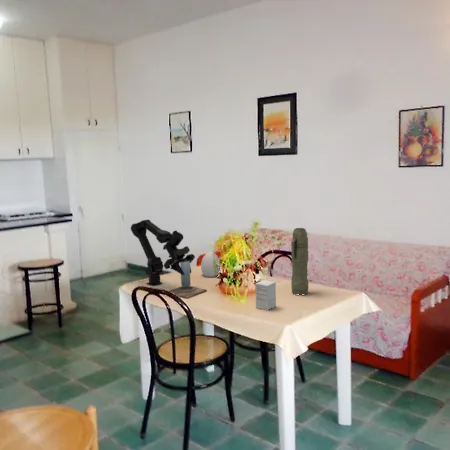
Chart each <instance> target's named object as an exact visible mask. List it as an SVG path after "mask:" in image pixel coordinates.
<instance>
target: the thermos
mask: <svg viewBox="0 0 450 450" xmlns="http://www.w3.org/2000/svg"><path fill="white" fill-rule="evenodd" d="M290 243H291V244H290V245H291V246H290V247H291V252H290V253H291V254H290V255H291V263H292V268H291V269H292V279H291V294H292V293H293V294H292V295H294V294H299V295H302V294H307V293H308V294H309V280H308V262H309V245H308V244H309V239H308V233H307V229H306V228H303V227H297V228H296V227H295V228H294V229H293V232H292V239H291V242H290ZM308 294H307V295H308ZM299 295H298V296H299ZM302 296H303V295H302Z"/></svg>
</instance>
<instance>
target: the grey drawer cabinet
mask: <svg viewBox="0 0 450 450" xmlns="http://www.w3.org/2000/svg"><path fill="white" fill-rule="evenodd" d="M276 287H277V284H276V282H275V281H271V280H265V279H262V280H260V281H258V282H256V283H255V308H257V309H258V308H261V309H260V310H263V309H266V310H265V311H267V310H268V311H270V310H271V308H272V309H274V308H276V307H277V292H276V291H277V289H276ZM269 309H270V310H269Z"/></svg>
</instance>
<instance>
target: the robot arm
mask: <svg viewBox="0 0 450 450" xmlns="http://www.w3.org/2000/svg"><path fill="white" fill-rule="evenodd" d="M130 231H131V233H132V234H133V236H134V237H136V238H137V239H138V241H139V243H140V246H141V247H142V249H143V252H144V255H145V257H146V258H147V262H146V265H147V266H146V269H145V275H147V276H148V282H146V284H147V285H149V286H150V285H151V286H158V285H161V284H163V282H162V281H161V275H160V274H162V273H163V270H164V269H165V270H168V269H170V270H172V271H175V272H176V273H179V274H180V275H181V274H182V275H184V273H183V271H182V269H181V261H190V264H192V263H193V261H194V260H195V258H196V256H195V255H194V254H193V253H190V254H189V252H190V248H189V246H184V247H183V248H178V246H179V245H180V244H181V242H182V241H183V239H184V235H183V234H182V233H181V232H179V231H178V230H173V231H172V233H171V232H170V231H168V230H164V229H162V228H160V227H159V226H158V225H156V224H154V223H153V222H152V221H151V220H150V219H143V220H141V221H139V222H136V223H132V224H131V225H130ZM147 231H148V232H150V233H151V234H152V235H153V236H154V237H155V238H156V240H157V241H158V243H159V244H163V247H162V251H163V250H165V251H167V253H168V258H169V259H166V261H165V262H163V261H162V259H161V257H160V256H157V255H156V254H155V252H154V249H153V248H152V245H151V243H150V241H149V239H148V236H147ZM163 263H164V264H163ZM191 273H192V268H191V266H190V274H191Z"/></svg>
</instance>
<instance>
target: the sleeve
mask: <svg viewBox="0 0 450 450" xmlns="http://www.w3.org/2000/svg"><path fill="white" fill-rule="evenodd" d="M180 267H181V269H182V271H183V273H184V275H182V274H180V281H181V283H180V285H181V286H192V285H191V284H192V283H191V273H190V267H191V263H190V261H181V263H180Z"/></svg>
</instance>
